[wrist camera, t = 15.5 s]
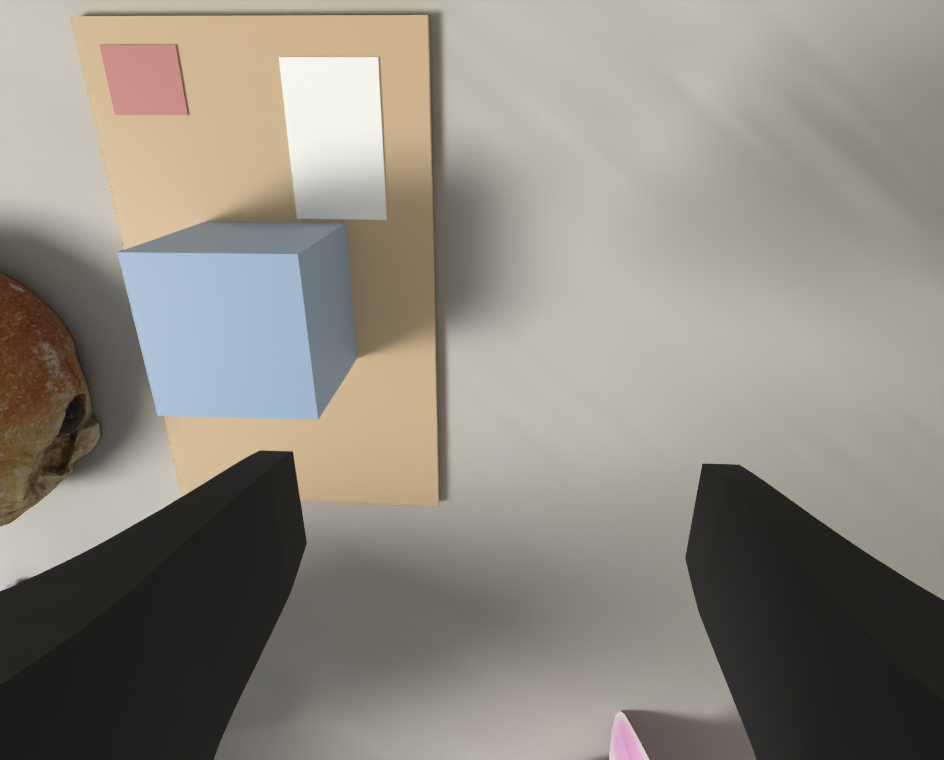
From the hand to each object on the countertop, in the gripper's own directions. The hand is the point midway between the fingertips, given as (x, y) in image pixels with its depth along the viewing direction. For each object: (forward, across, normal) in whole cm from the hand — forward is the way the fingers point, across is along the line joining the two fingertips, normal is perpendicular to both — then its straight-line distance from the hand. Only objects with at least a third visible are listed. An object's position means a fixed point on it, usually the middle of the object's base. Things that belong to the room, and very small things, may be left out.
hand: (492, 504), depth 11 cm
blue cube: (+10, +7, -1) cm, 12 cm away
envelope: (+10, +7, -1) cm, 12 cm away
